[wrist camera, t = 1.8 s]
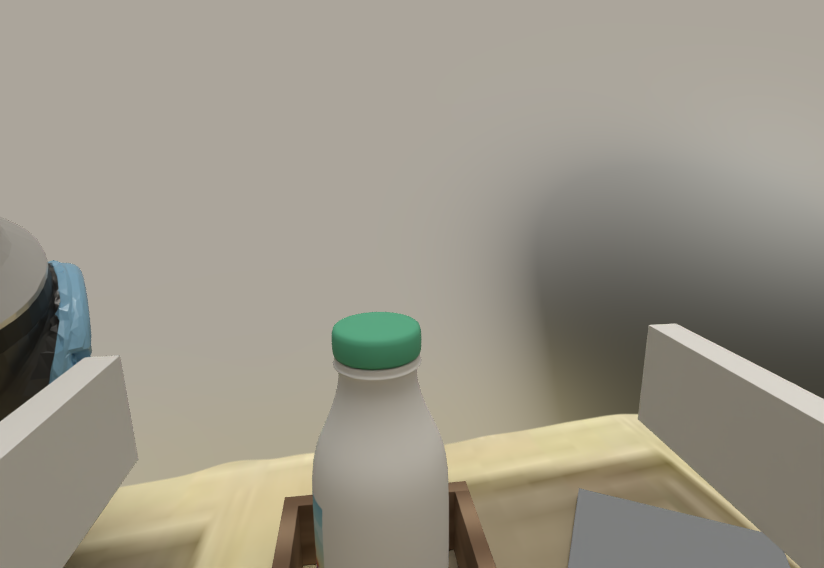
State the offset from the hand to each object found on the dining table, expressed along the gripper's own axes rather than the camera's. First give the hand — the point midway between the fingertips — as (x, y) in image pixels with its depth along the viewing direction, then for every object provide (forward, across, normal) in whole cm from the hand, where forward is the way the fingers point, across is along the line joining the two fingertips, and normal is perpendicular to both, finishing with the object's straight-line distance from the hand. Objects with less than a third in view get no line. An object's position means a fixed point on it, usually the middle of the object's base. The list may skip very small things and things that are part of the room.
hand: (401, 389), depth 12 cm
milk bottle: (+13, 0, -23) cm, 26 cm away
